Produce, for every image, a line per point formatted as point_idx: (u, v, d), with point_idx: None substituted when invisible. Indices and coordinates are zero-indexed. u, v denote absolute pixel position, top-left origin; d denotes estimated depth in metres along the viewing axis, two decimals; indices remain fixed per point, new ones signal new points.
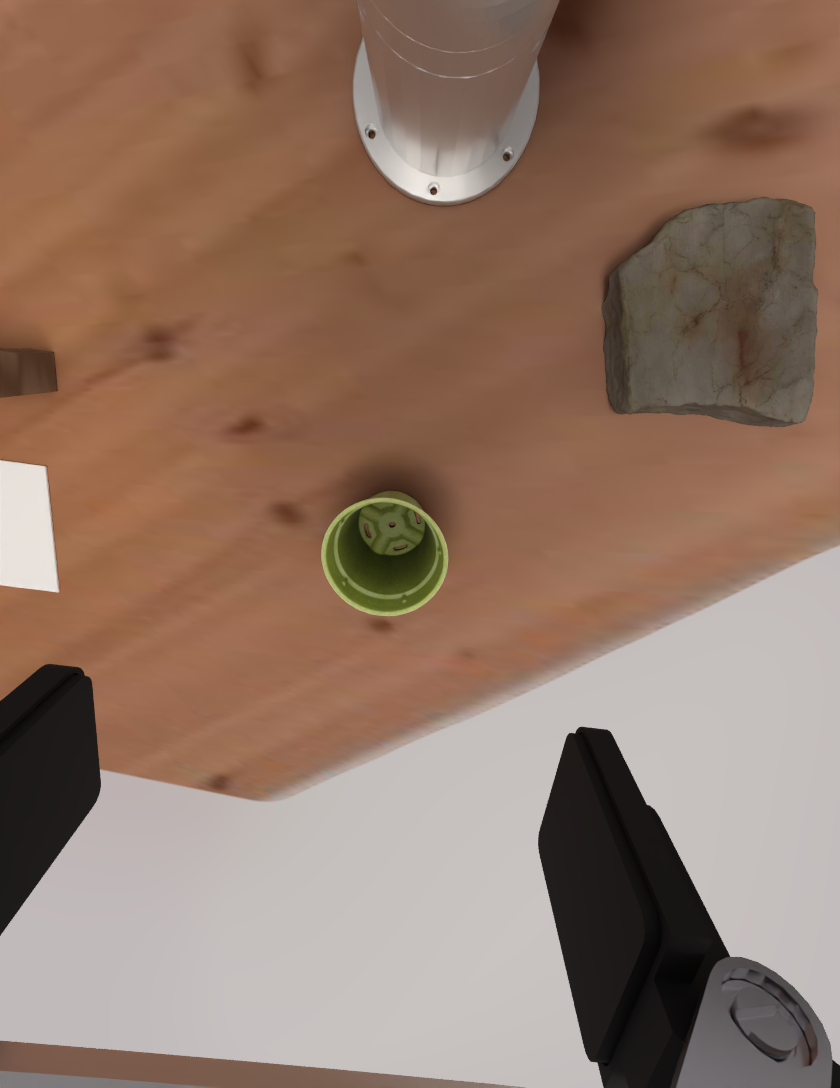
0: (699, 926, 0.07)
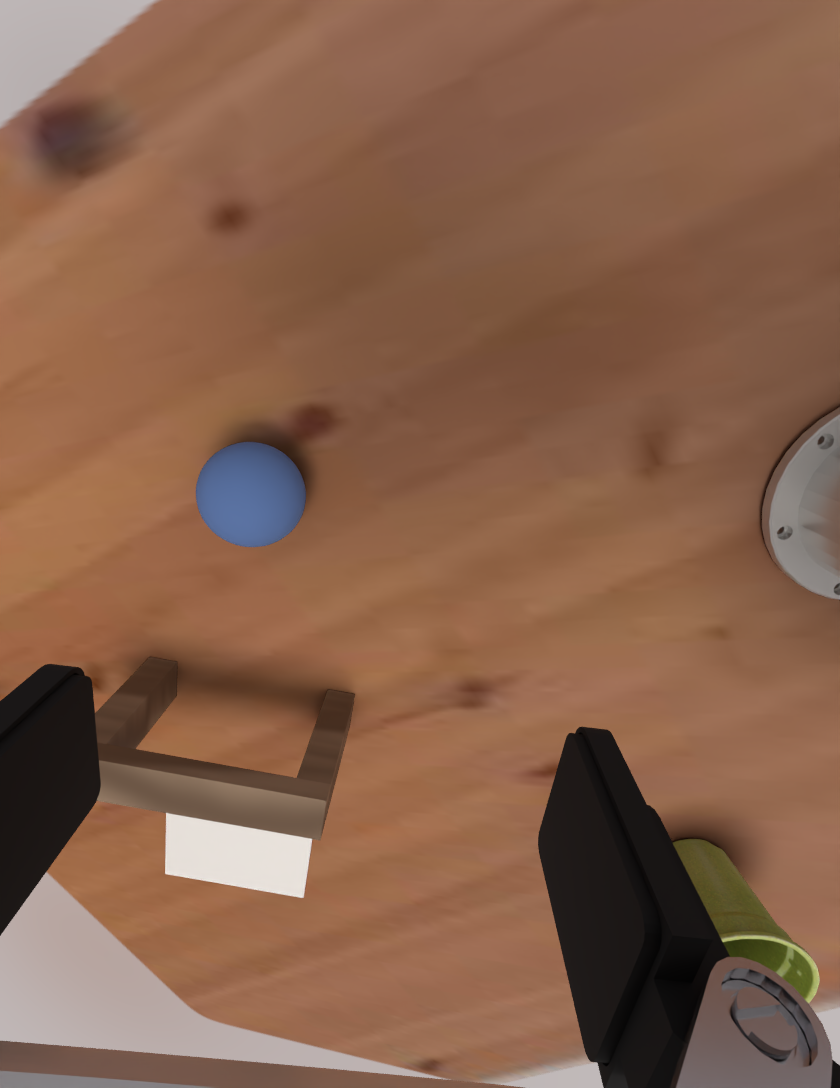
0: (700, 926, 0.07)
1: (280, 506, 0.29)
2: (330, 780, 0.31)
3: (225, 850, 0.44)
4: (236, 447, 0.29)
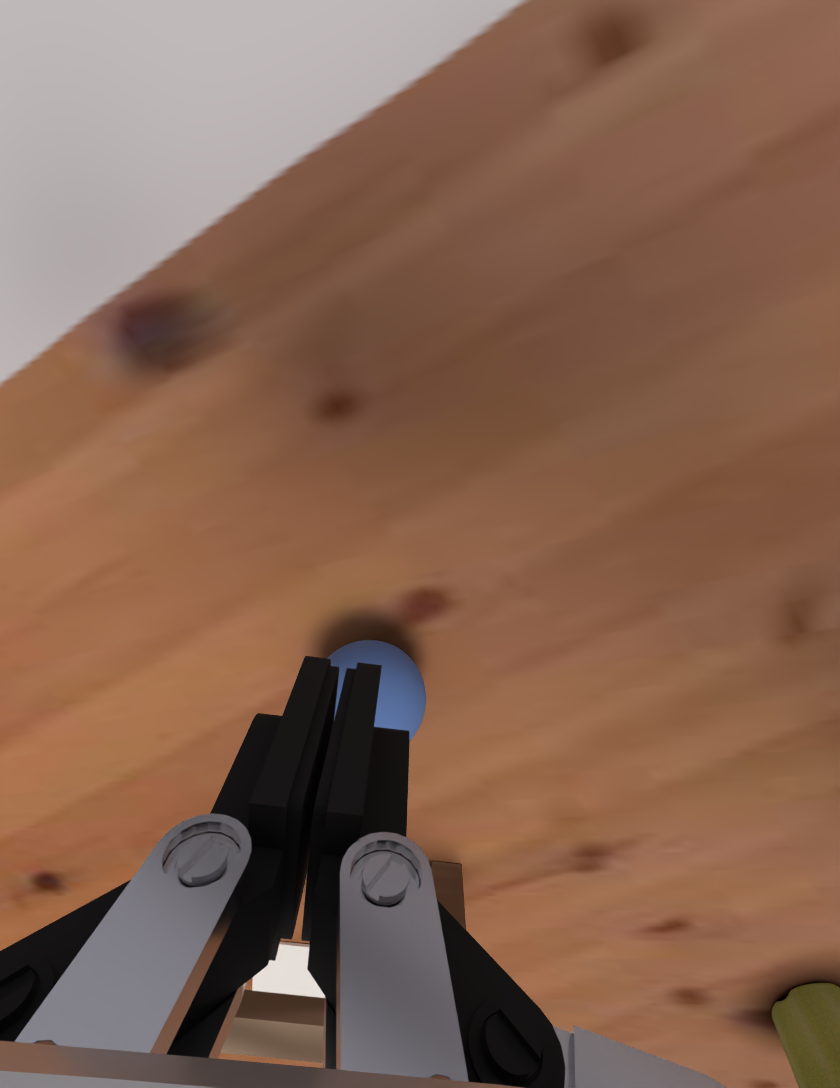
0: (356, 806, 0.07)
1: (409, 724, 0.26)
2: None
3: None
4: (356, 659, 0.26)
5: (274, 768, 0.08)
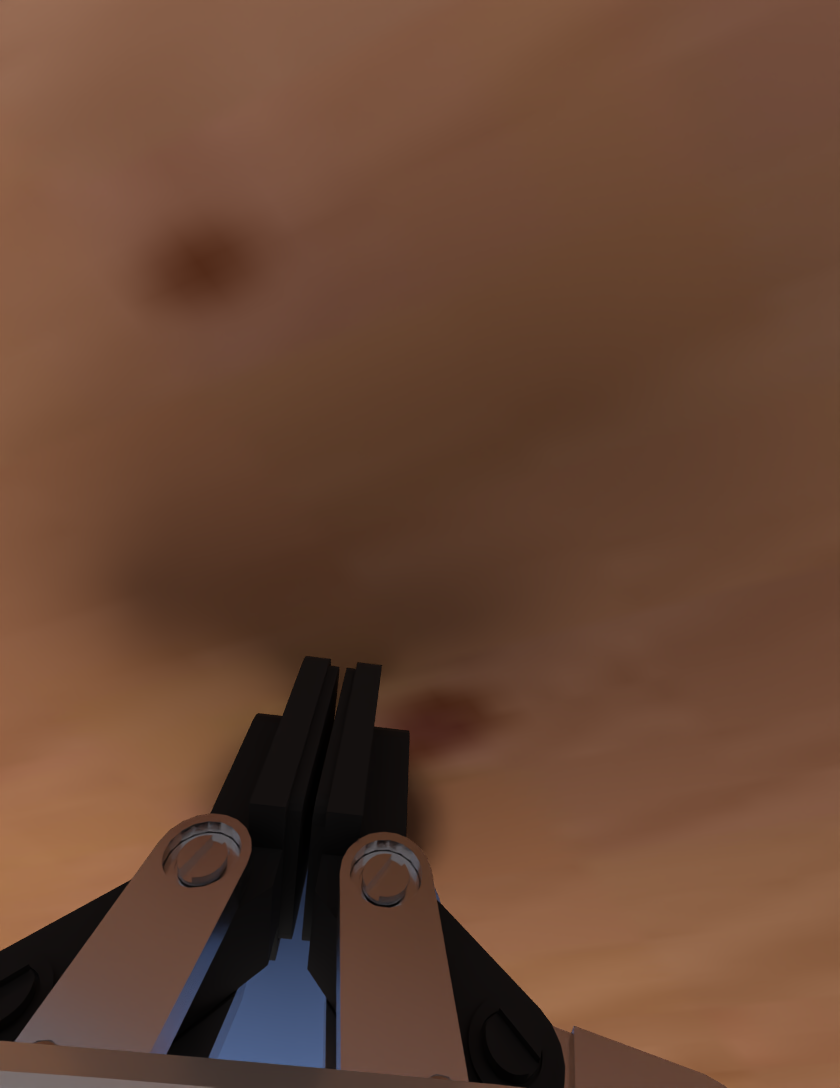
0: (356, 806, 0.07)
1: None
2: None
3: None
4: None
5: (274, 768, 0.08)
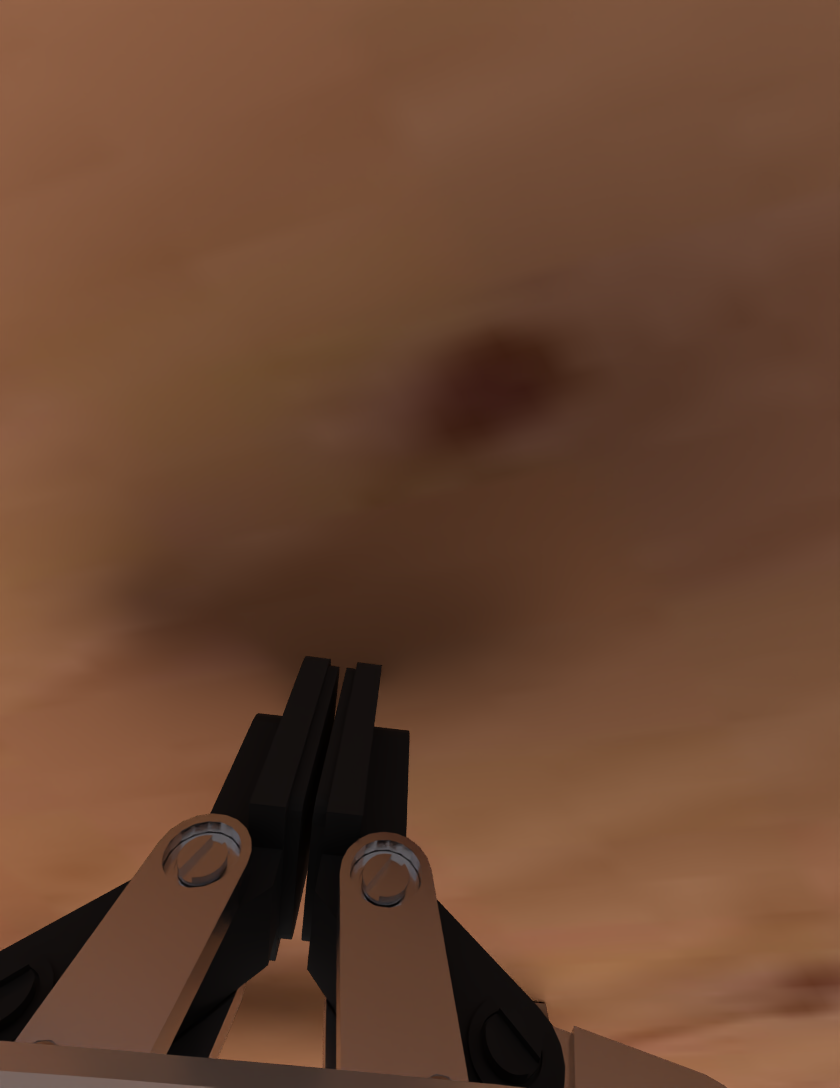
0: (356, 806, 0.07)
1: None
2: None
3: None
4: None
5: (274, 768, 0.08)
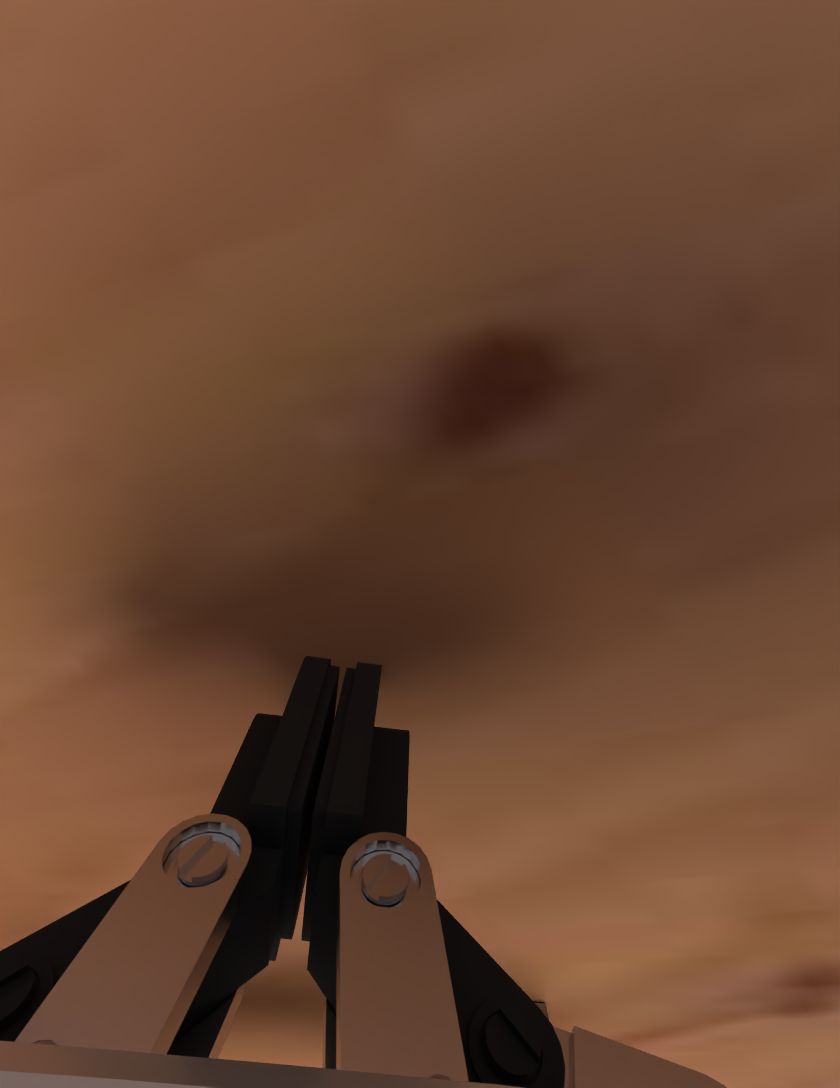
0: (356, 806, 0.07)
1: None
2: None
3: None
4: None
5: (274, 768, 0.08)
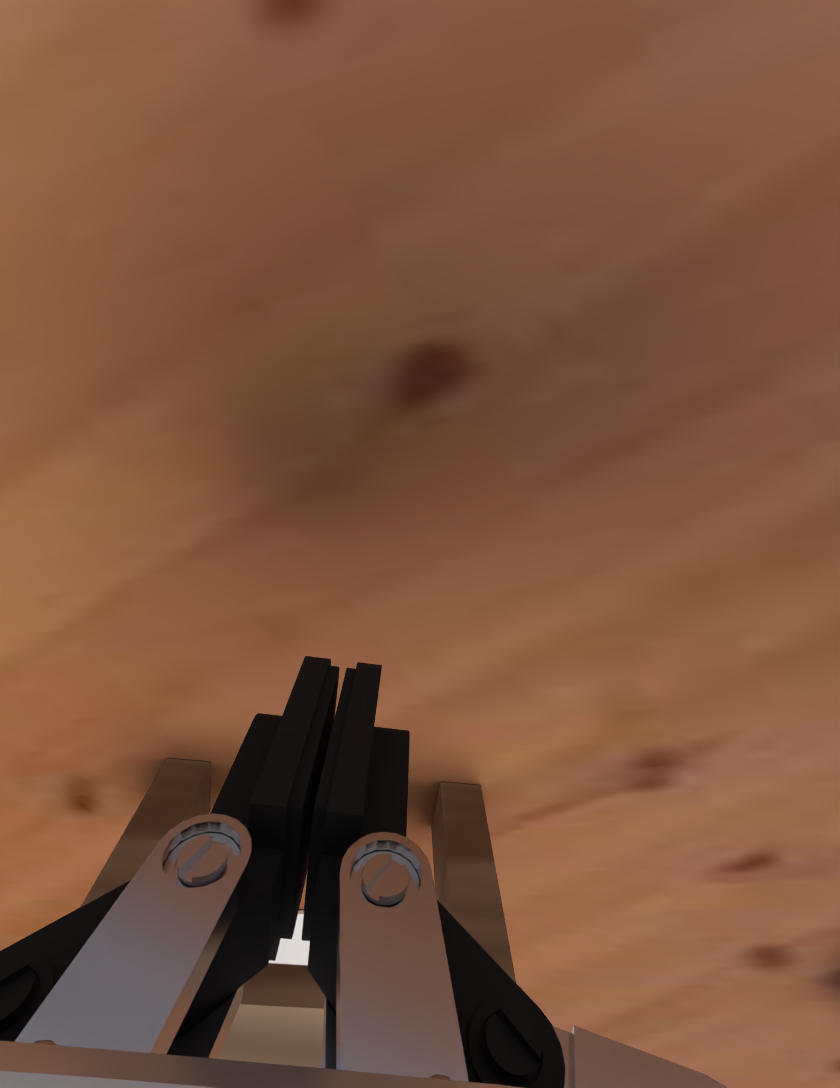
0: (356, 805, 0.07)
1: None
2: (511, 968, 0.18)
3: None
4: None
5: (274, 768, 0.08)
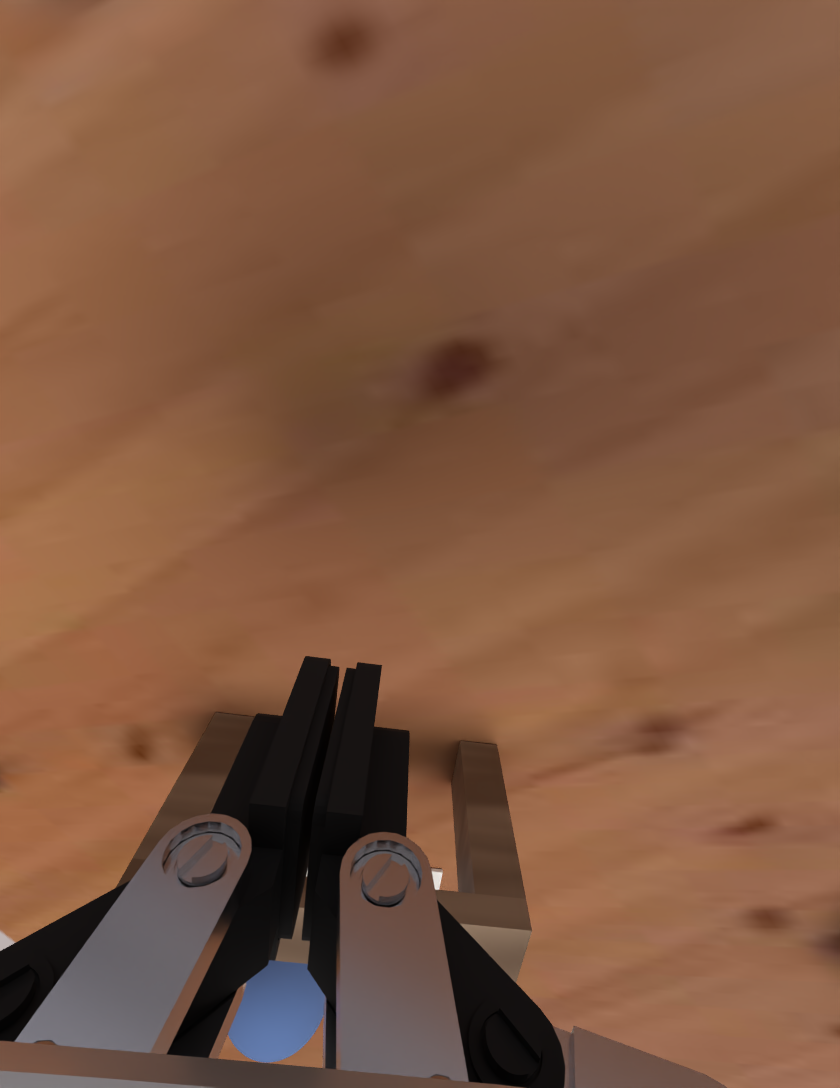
0: (356, 806, 0.07)
1: None
2: (522, 892, 0.21)
3: None
4: None
5: (274, 768, 0.08)
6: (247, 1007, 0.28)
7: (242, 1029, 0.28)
